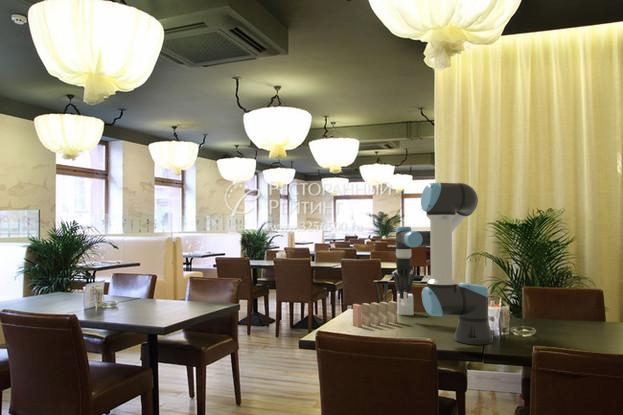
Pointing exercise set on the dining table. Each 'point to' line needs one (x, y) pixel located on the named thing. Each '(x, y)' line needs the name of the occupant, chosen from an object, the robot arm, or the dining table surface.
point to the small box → (406, 309)
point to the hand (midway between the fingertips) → (403, 305)
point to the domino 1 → (357, 315)
